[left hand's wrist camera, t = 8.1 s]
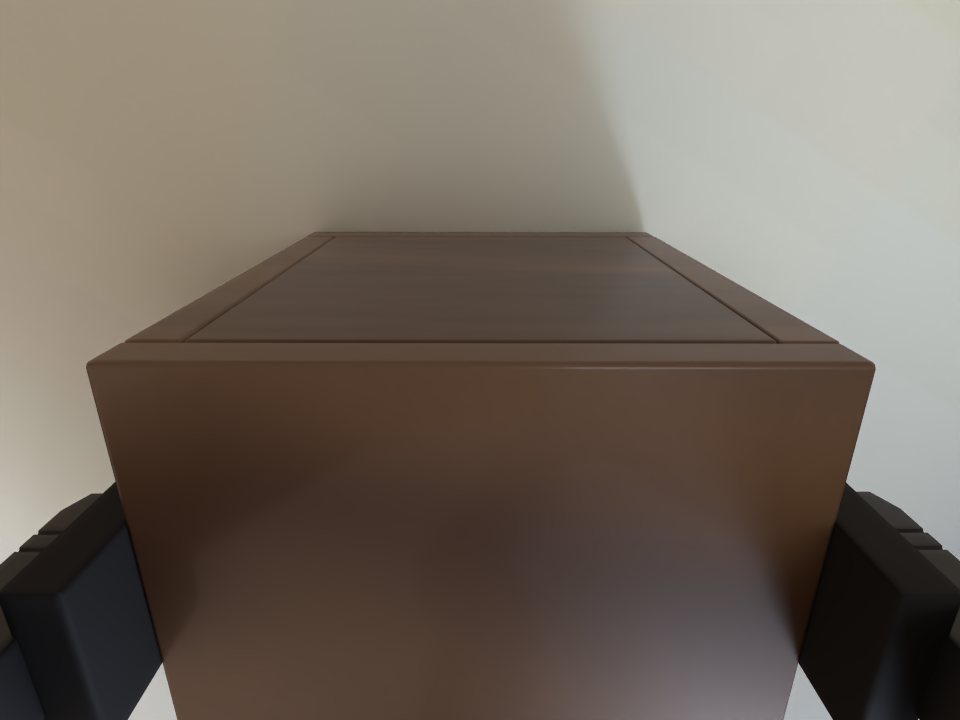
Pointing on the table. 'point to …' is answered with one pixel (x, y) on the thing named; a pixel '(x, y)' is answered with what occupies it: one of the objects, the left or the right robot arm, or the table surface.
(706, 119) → the table surface
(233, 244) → the table surface
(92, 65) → the table surface
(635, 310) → the cabinet
